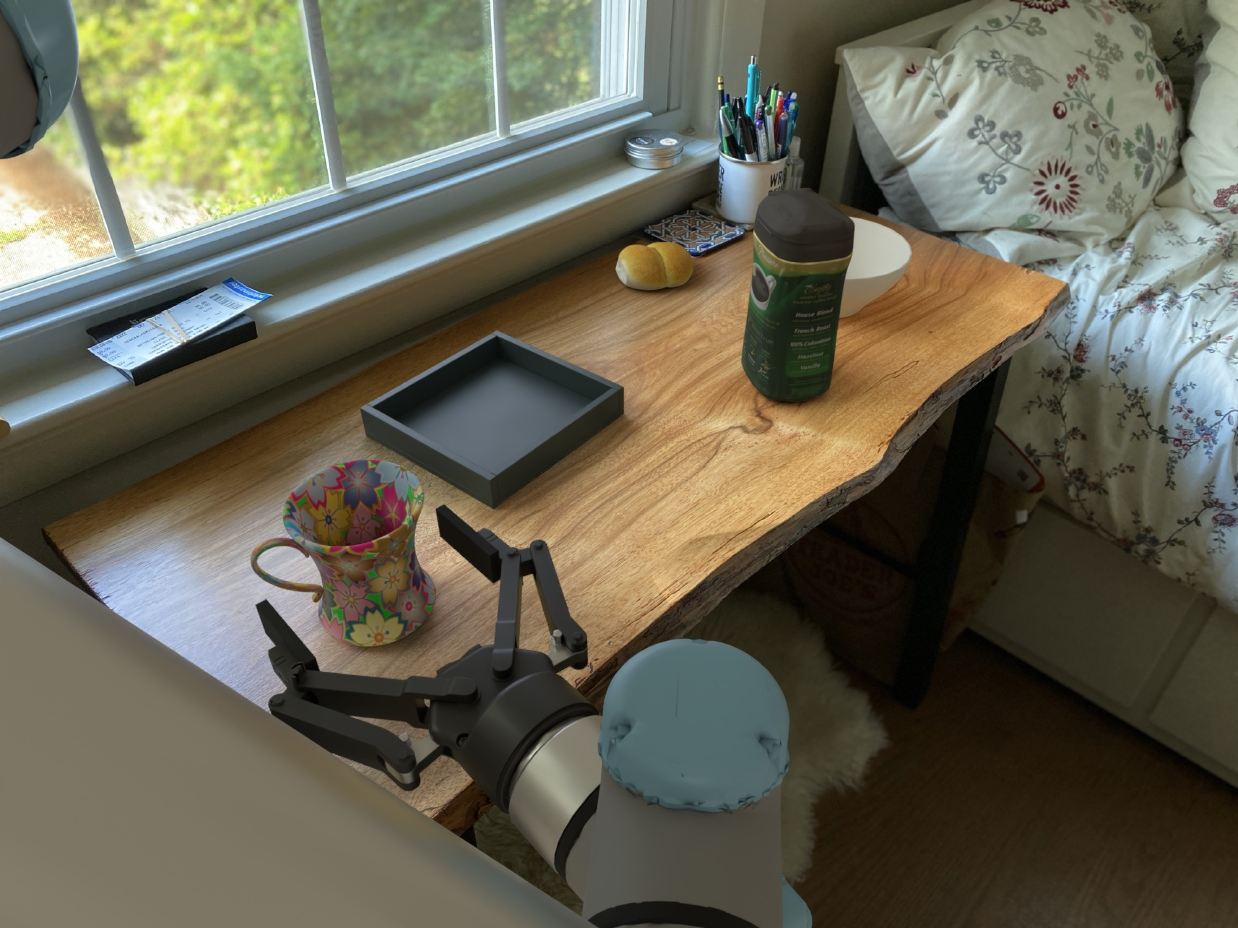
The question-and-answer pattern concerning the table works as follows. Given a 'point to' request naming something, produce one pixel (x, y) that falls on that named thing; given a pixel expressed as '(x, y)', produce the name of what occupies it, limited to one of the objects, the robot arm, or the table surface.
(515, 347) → the tray
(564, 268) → the table surface
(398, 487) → the mug
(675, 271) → the bread roll
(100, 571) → the table surface
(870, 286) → the bowl
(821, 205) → the coffee jar
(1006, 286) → the table surface
